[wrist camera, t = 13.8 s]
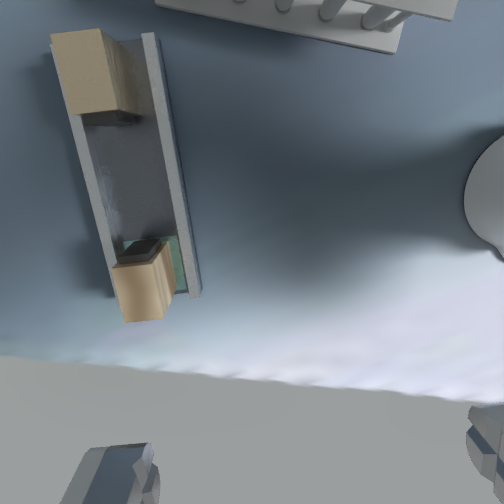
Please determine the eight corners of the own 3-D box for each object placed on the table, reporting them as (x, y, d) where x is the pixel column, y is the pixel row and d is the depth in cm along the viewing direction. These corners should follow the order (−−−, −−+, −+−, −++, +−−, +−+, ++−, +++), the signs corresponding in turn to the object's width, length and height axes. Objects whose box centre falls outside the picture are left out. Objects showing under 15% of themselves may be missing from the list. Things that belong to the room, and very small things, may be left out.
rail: (160, 40, 36) (134, 8, 27) (202, 287, 44) (193, 323, 36) (63, 51, 36) (8, 24, 27) (125, 296, 44) (97, 334, 36)
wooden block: (167, 234, 41) (150, 256, 33) (177, 286, 43) (163, 318, 36) (133, 238, 41) (109, 261, 33) (145, 290, 43) (124, 323, 36)
